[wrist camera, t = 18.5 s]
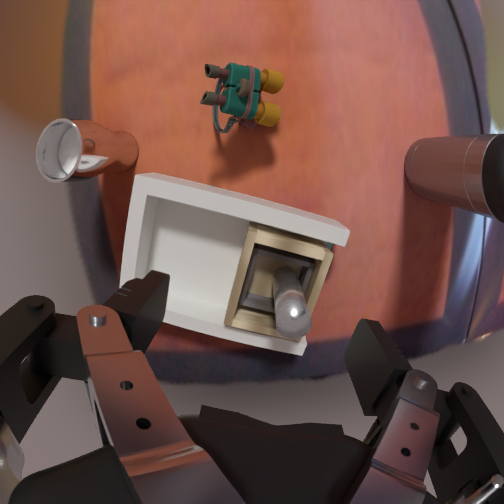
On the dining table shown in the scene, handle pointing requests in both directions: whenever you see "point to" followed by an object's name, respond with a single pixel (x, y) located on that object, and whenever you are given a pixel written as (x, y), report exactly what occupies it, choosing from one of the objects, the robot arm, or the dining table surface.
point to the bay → (207, 248)
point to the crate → (261, 271)
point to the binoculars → (243, 95)
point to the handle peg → (290, 304)
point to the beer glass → (83, 150)
